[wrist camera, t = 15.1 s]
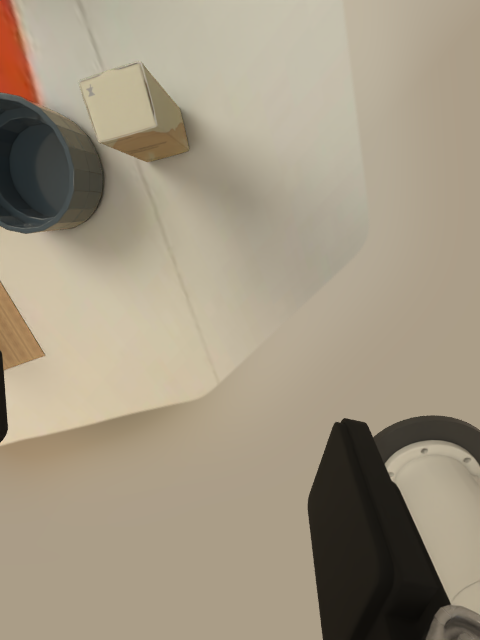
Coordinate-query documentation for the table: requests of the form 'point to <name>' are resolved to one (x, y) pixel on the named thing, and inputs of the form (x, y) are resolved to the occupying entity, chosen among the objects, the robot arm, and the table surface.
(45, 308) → the table surface
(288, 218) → the table surface
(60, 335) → the table surface
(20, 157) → the round storage tub
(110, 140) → the box
